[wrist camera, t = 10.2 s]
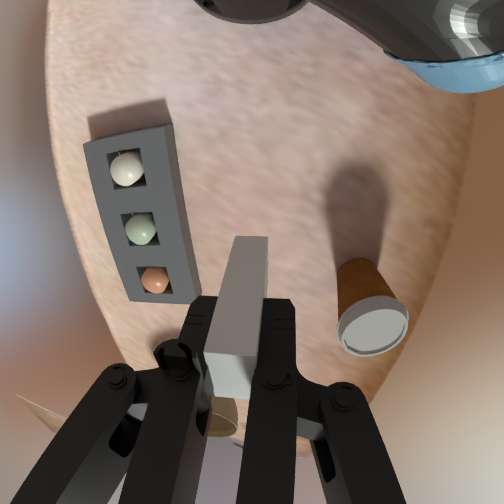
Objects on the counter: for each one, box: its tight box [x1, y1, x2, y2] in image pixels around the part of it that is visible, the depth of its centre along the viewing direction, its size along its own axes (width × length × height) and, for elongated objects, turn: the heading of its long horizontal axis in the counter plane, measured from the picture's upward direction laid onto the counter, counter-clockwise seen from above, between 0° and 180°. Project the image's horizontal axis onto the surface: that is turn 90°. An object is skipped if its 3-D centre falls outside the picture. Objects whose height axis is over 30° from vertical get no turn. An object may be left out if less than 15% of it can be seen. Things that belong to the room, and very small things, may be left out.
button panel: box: [83, 123, 202, 304], centre depth 38 cm, size 26×12×3 cm, turn 4°
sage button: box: [125, 212, 157, 245], centre depth 38 cm, size 4×4×4 cm
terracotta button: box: [141, 267, 169, 293], centre depth 42 cm, size 4×4×4 cm
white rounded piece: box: [110, 149, 145, 186], centre depth 33 cm, size 4×4×4 cm
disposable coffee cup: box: [336, 258, 409, 357], centre depth 36 cm, size 10×10×12 cm
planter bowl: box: [207, 391, 238, 438], centre depth 56 cm, size 16×16×11 cm
